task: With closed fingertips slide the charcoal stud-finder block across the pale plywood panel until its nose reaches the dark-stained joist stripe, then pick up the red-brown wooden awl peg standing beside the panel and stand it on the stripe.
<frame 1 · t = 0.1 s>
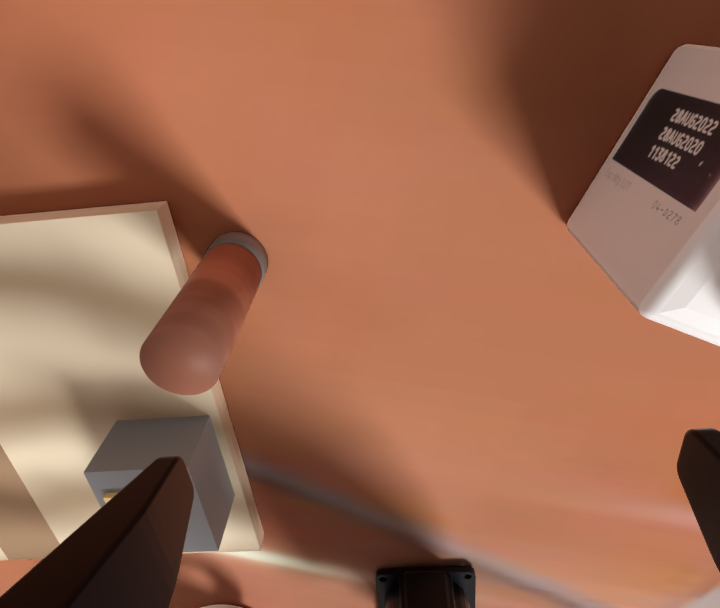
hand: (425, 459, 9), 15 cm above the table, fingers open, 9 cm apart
container: (692, 175, 21), on the table
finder: (178, 459, 28), point 1 cm above the table, touching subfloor
awl: (238, 259, 24), on the table
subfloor: (47, 410, 28), on the table
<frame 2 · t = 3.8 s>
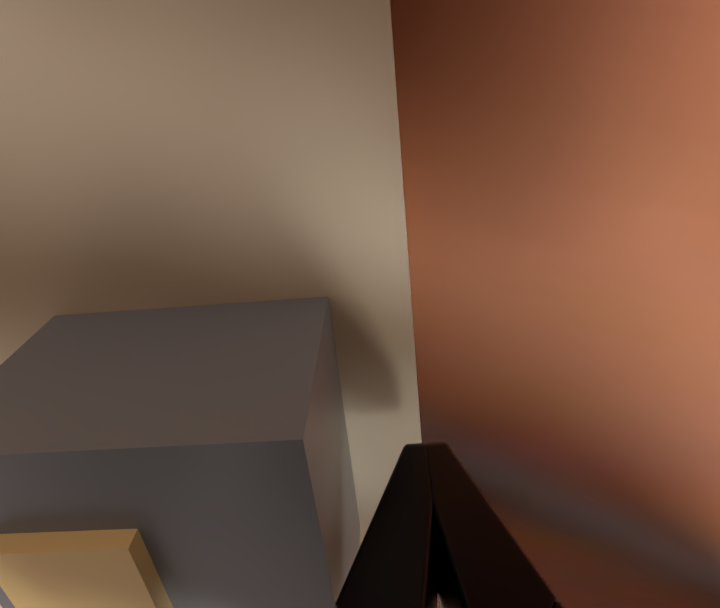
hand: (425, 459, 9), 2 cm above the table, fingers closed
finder: (225, 433, 11), point 1 cm above the table, touching gripper
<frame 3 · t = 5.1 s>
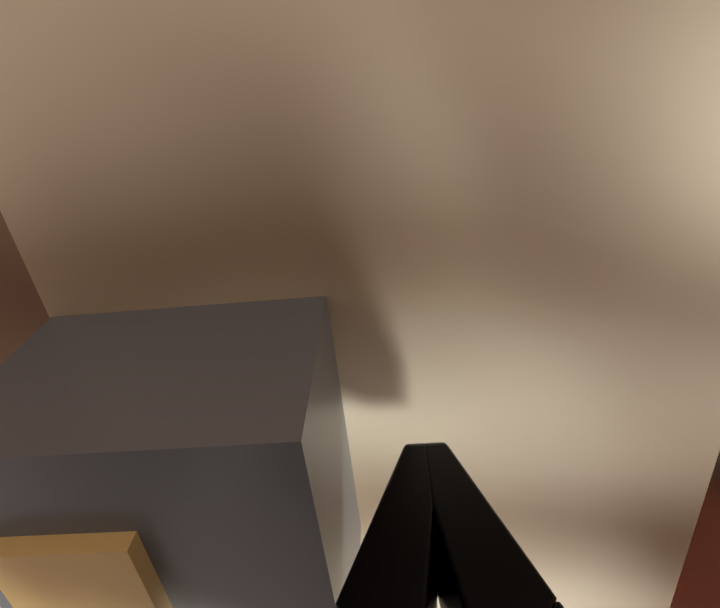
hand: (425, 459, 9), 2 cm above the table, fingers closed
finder: (224, 433, 11), point 1 cm above the table, touching gripper
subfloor: (203, 275, 10), on the table
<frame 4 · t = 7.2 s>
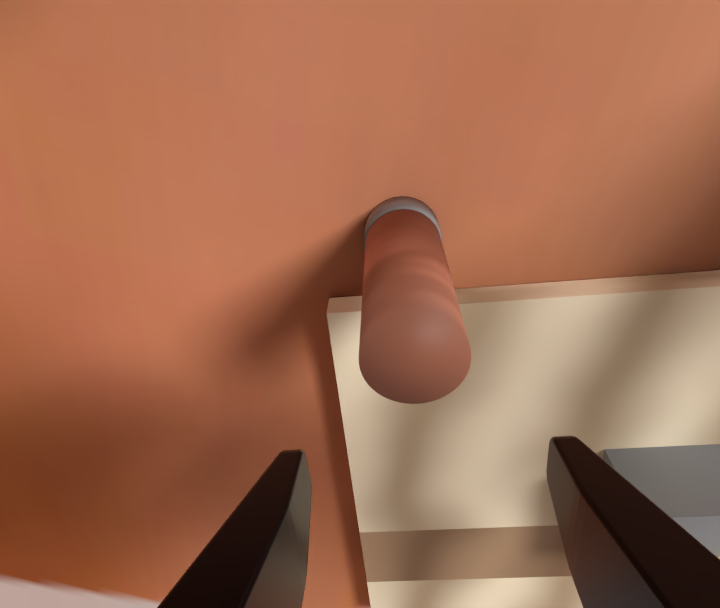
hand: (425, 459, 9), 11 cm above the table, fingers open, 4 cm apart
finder: (666, 486, 23), point 1 cm above the table, touching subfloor
awl: (401, 232, 19), on the table
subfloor: (587, 467, 24), on the table
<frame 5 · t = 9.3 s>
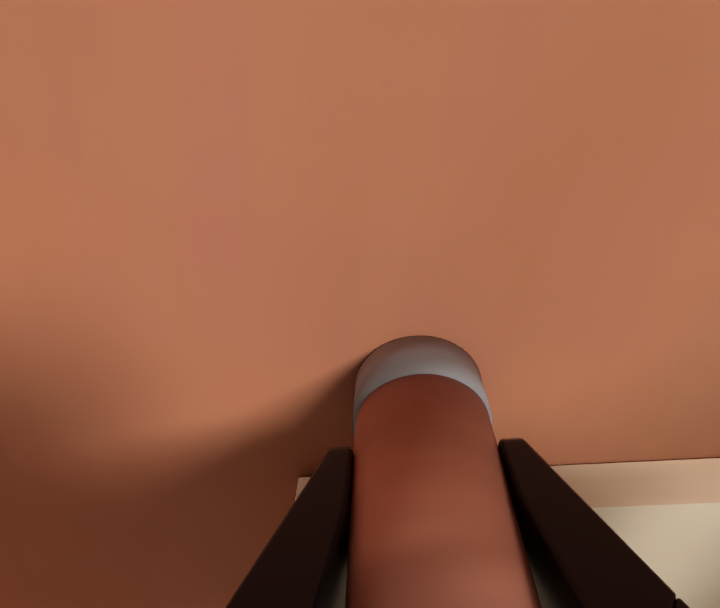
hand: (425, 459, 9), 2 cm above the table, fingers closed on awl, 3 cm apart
awl: (417, 388, 11), on the table, touching gripper
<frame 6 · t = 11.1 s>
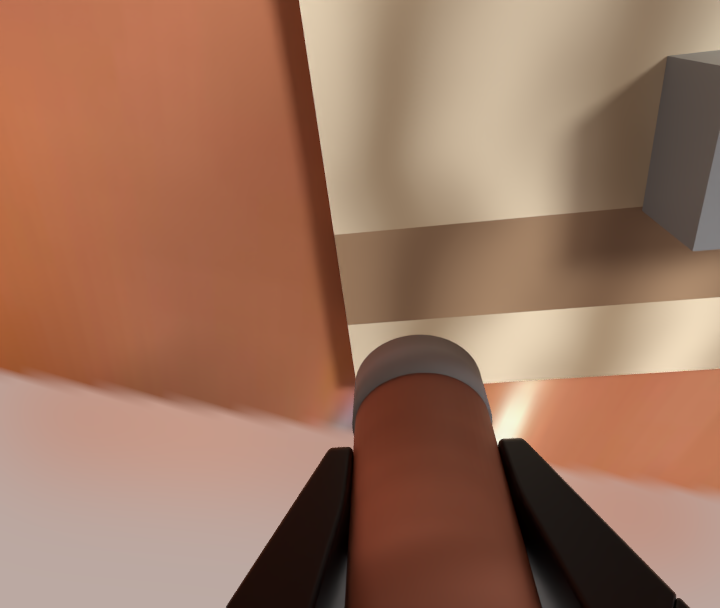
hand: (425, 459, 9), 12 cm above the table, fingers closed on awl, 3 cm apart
awl: (417, 387, 11), point 10 cm above the table, touching gripper
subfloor: (637, 126, 18), on the table
when the fingers open (4 cm above the table, at t = 12.9 s): awl drops 1 cm, resting on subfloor.
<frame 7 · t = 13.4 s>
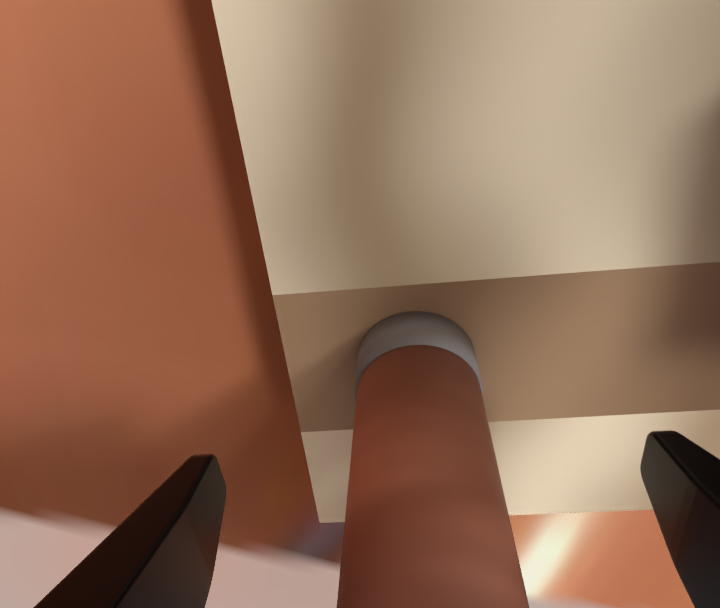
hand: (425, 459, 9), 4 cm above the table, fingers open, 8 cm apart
awl: (416, 360, 12), point 1 cm above the table, touching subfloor
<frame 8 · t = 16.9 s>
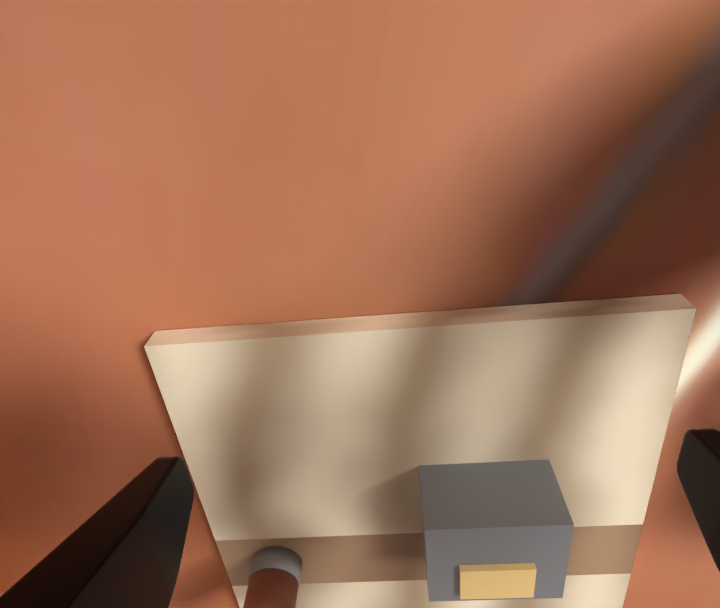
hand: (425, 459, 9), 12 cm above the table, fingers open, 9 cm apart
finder: (482, 499, 25), point 1 cm above the table, touching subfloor
awl: (277, 561, 28), point 1 cm above the table, touching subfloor
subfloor: (418, 480, 27), on the table
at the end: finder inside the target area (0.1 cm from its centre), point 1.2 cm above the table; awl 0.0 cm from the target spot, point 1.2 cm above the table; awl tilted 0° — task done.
